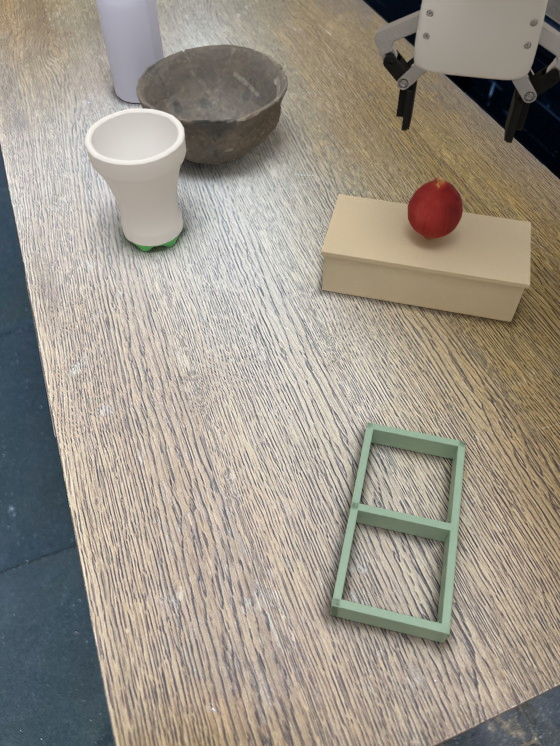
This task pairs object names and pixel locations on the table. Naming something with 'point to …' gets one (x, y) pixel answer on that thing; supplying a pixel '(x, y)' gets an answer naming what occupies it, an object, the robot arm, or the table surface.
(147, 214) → the cup
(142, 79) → the bowl
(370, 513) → the green rectangular frame
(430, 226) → the red pomegranate
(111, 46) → the soap bottle
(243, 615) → the table surface
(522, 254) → the beige rectangular box
